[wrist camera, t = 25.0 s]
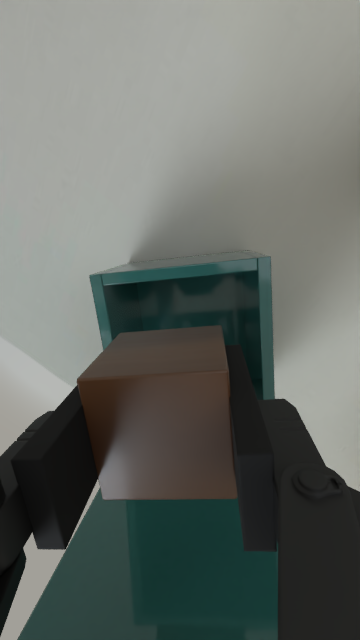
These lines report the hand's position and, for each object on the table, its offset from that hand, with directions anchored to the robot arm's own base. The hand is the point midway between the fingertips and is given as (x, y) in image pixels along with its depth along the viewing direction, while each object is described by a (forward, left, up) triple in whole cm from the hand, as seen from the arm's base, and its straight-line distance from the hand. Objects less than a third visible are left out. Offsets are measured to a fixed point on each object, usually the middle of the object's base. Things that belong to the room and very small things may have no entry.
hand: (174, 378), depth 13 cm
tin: (+2, -1, -17) cm, 17 cm away
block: (0, 0, 0) cm, 0 cm away
